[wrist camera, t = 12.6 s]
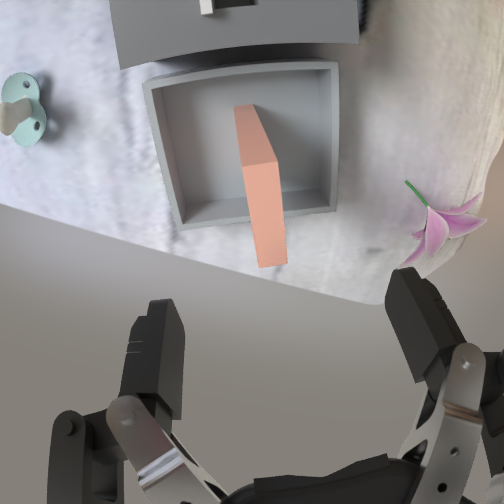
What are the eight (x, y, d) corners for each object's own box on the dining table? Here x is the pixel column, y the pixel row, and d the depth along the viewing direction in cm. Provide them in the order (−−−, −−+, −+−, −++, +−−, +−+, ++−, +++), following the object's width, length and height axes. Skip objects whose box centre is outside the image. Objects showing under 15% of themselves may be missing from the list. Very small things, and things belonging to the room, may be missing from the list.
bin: (322, 58, 21) (338, 61, 18) (323, 190, 30) (336, 211, 26) (153, 77, 21) (141, 83, 18) (182, 207, 30) (177, 231, 26)
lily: (361, 239, 35) (411, 301, 31) (374, 176, 25) (449, 257, 21) (425, 194, 36) (472, 246, 32) (448, 131, 26) (513, 192, 21)
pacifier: (16, 148, 23) (57, 131, 23) (-19, 176, 18) (22, 158, 18) (-2, 86, 18) (40, 62, 18) (-42, 104, 13) (-1, 75, 13)
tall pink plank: (252, 103, 23) (277, 161, 13) (261, 167, 27) (287, 263, 17) (233, 106, 23) (241, 166, 13) (244, 170, 27) (258, 268, 17)
